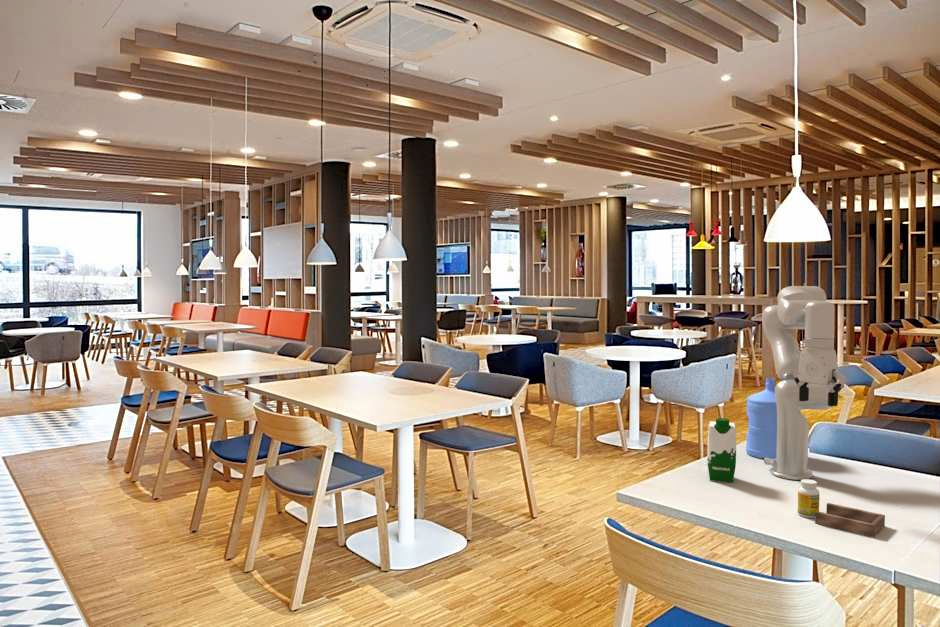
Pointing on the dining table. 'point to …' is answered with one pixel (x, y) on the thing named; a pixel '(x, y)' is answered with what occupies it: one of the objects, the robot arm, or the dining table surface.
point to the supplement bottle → (808, 498)
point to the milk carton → (721, 450)
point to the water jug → (762, 422)
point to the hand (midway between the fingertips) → (817, 403)
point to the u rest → (851, 519)
